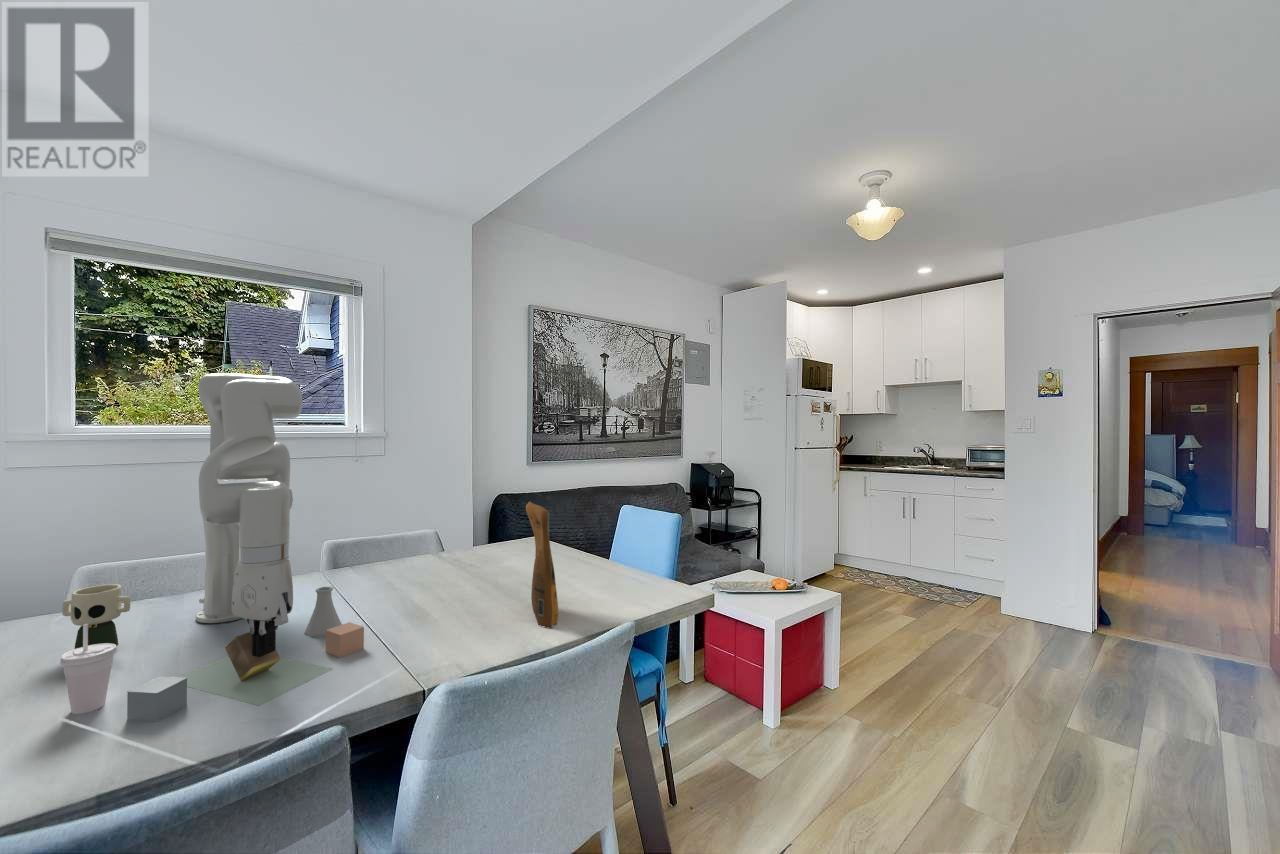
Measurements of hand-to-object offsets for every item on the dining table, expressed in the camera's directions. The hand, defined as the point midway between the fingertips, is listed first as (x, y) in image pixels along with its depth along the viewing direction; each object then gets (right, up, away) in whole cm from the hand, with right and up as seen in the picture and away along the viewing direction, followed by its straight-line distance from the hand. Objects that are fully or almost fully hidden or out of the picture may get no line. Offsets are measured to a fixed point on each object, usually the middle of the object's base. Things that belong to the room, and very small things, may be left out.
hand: (263, 653), depth 96 cm
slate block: (-9, -5, -12) cm, 15 cm away
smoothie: (-21, -5, -11) cm, 24 cm away
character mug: (-41, -5, +10) cm, 43 cm away
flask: (-2, -5, +22) cm, 23 cm away
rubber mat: (-3, -5, +1) cm, 6 cm away
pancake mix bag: (+45, -6, +33) cm, 56 cm away
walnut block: (-1, -3, 0) cm, 3 cm away
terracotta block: (+8, -5, +12) cm, 15 cm away
